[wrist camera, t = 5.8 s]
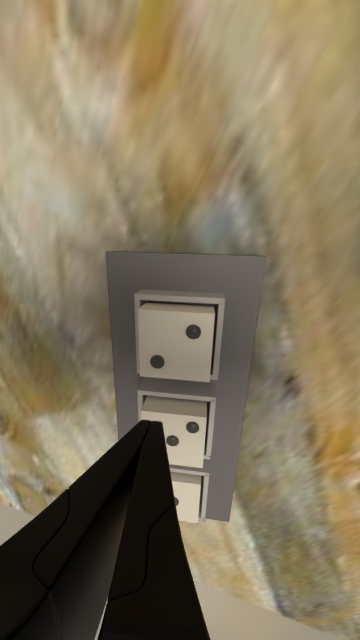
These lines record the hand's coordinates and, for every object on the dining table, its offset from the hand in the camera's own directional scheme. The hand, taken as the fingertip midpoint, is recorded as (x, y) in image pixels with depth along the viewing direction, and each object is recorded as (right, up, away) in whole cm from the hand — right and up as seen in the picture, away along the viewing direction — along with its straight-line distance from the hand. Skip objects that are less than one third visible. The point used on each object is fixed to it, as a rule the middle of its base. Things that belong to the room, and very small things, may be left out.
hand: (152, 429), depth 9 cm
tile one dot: (+1, -12, +14) cm, 18 cm away
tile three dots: (+1, -5, +11) cm, 12 cm away
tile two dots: (+1, +3, +8) cm, 9 cm away
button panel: (+1, -4, +14) cm, 14 cm away
